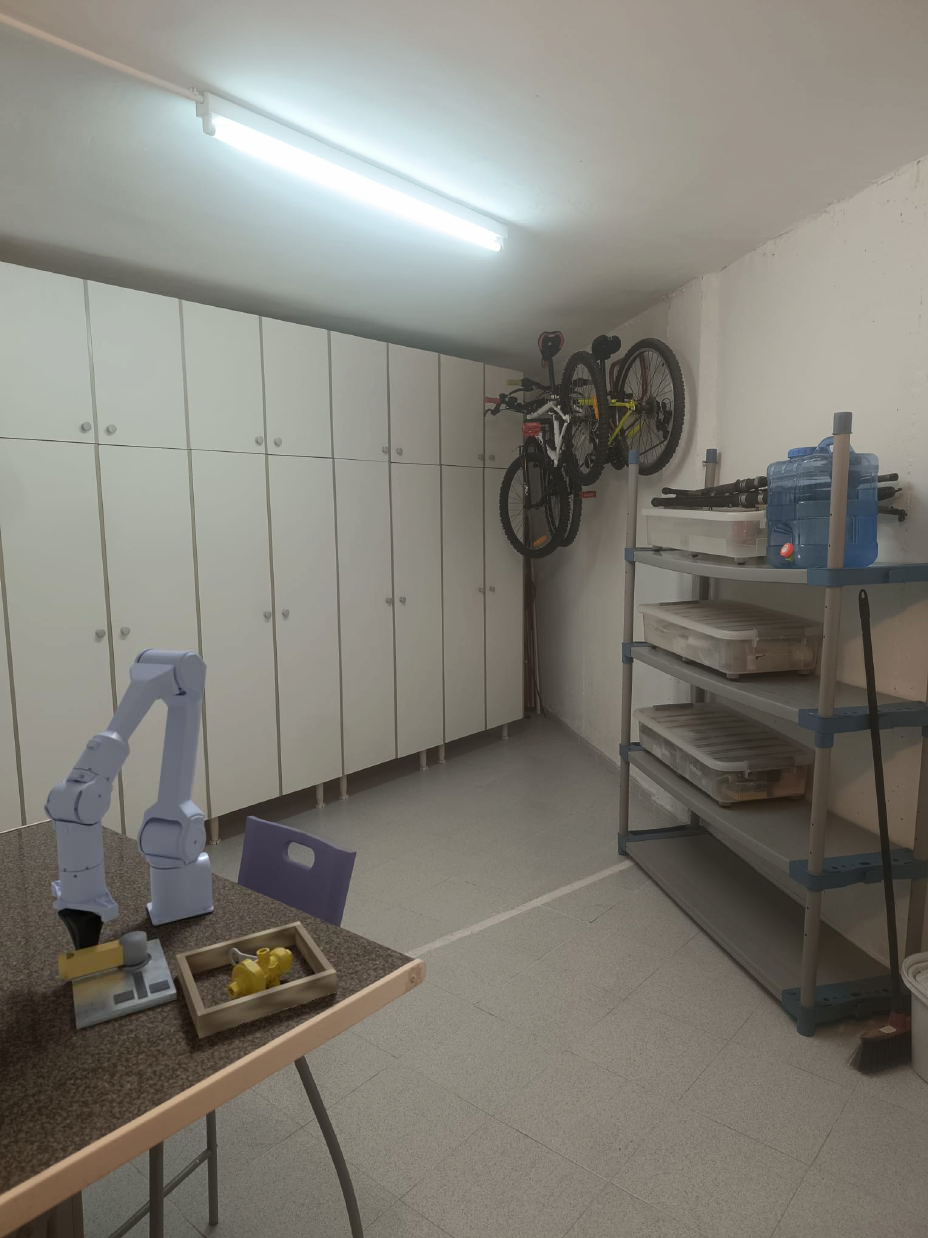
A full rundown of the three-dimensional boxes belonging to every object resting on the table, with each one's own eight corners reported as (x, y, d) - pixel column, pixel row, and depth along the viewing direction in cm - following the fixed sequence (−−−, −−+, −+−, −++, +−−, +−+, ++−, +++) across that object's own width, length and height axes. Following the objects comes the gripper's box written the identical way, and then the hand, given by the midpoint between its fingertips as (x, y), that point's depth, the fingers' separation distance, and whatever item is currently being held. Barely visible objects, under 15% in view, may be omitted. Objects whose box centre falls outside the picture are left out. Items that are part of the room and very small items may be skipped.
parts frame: (299, 939, 114) (299, 921, 113) (336, 993, 100) (336, 972, 100) (177, 975, 104) (176, 955, 104) (199, 1039, 91) (198, 1016, 90)
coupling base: (159, 944, 113) (158, 937, 112) (176, 999, 99) (176, 991, 99) (64, 969, 106) (63, 962, 106) (69, 1032, 92) (68, 1023, 92)
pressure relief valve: (304, 977, 103) (246, 1016, 95) (248, 965, 110) (190, 1001, 101) (297, 939, 103) (240, 974, 95) (242, 929, 110) (184, 961, 101)
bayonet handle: (145, 949, 109) (144, 928, 108) (149, 961, 105) (148, 939, 105) (59, 972, 103) (57, 950, 103) (59, 985, 100) (58, 963, 99)
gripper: (27, 861, 105) (33, 951, 106) (80, 887, 97) (86, 984, 98) (76, 845, 111) (81, 930, 112) (130, 867, 103) (135, 959, 104)
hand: (87, 954), depth 106 cm, fingers closed
